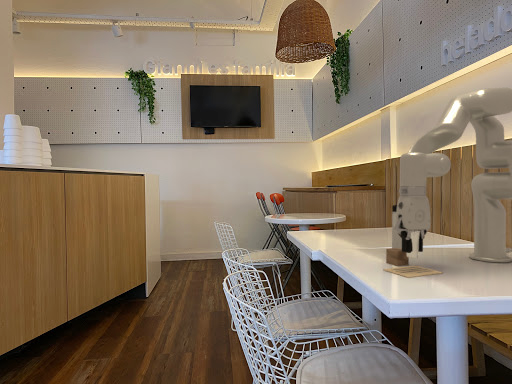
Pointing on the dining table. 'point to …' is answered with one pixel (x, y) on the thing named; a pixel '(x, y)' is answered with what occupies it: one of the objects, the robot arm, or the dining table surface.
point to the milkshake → (414, 243)
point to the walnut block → (396, 257)
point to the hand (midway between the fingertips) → (412, 251)
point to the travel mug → (395, 236)
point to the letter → (412, 271)
